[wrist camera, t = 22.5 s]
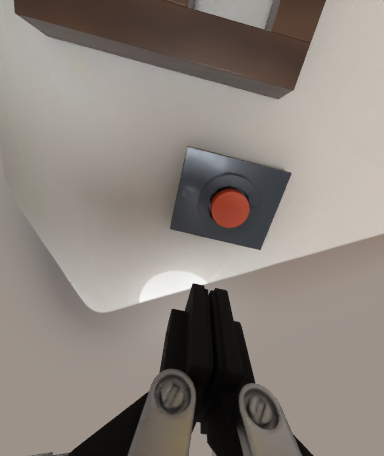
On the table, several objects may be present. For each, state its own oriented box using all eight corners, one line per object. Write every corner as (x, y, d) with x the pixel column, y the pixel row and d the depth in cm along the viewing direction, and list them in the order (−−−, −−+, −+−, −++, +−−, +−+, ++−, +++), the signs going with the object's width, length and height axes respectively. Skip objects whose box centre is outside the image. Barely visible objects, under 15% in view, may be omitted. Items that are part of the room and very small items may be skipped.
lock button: (206, 218, 24) (207, 223, 23) (216, 184, 23) (217, 187, 21) (239, 226, 24) (242, 231, 23) (251, 193, 23) (255, 196, 21)
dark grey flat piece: (171, 223, 28) (167, 234, 25) (188, 146, 25) (186, 146, 21) (256, 242, 29) (264, 257, 25) (284, 170, 25) (298, 175, 22)
